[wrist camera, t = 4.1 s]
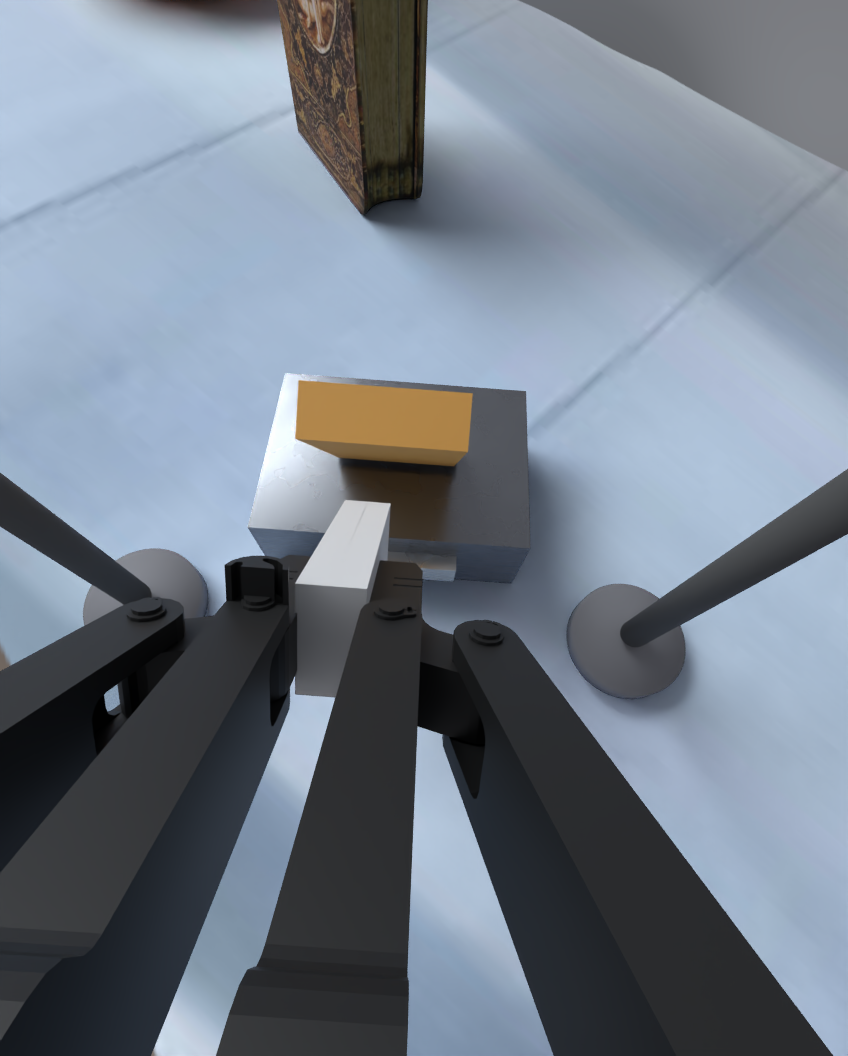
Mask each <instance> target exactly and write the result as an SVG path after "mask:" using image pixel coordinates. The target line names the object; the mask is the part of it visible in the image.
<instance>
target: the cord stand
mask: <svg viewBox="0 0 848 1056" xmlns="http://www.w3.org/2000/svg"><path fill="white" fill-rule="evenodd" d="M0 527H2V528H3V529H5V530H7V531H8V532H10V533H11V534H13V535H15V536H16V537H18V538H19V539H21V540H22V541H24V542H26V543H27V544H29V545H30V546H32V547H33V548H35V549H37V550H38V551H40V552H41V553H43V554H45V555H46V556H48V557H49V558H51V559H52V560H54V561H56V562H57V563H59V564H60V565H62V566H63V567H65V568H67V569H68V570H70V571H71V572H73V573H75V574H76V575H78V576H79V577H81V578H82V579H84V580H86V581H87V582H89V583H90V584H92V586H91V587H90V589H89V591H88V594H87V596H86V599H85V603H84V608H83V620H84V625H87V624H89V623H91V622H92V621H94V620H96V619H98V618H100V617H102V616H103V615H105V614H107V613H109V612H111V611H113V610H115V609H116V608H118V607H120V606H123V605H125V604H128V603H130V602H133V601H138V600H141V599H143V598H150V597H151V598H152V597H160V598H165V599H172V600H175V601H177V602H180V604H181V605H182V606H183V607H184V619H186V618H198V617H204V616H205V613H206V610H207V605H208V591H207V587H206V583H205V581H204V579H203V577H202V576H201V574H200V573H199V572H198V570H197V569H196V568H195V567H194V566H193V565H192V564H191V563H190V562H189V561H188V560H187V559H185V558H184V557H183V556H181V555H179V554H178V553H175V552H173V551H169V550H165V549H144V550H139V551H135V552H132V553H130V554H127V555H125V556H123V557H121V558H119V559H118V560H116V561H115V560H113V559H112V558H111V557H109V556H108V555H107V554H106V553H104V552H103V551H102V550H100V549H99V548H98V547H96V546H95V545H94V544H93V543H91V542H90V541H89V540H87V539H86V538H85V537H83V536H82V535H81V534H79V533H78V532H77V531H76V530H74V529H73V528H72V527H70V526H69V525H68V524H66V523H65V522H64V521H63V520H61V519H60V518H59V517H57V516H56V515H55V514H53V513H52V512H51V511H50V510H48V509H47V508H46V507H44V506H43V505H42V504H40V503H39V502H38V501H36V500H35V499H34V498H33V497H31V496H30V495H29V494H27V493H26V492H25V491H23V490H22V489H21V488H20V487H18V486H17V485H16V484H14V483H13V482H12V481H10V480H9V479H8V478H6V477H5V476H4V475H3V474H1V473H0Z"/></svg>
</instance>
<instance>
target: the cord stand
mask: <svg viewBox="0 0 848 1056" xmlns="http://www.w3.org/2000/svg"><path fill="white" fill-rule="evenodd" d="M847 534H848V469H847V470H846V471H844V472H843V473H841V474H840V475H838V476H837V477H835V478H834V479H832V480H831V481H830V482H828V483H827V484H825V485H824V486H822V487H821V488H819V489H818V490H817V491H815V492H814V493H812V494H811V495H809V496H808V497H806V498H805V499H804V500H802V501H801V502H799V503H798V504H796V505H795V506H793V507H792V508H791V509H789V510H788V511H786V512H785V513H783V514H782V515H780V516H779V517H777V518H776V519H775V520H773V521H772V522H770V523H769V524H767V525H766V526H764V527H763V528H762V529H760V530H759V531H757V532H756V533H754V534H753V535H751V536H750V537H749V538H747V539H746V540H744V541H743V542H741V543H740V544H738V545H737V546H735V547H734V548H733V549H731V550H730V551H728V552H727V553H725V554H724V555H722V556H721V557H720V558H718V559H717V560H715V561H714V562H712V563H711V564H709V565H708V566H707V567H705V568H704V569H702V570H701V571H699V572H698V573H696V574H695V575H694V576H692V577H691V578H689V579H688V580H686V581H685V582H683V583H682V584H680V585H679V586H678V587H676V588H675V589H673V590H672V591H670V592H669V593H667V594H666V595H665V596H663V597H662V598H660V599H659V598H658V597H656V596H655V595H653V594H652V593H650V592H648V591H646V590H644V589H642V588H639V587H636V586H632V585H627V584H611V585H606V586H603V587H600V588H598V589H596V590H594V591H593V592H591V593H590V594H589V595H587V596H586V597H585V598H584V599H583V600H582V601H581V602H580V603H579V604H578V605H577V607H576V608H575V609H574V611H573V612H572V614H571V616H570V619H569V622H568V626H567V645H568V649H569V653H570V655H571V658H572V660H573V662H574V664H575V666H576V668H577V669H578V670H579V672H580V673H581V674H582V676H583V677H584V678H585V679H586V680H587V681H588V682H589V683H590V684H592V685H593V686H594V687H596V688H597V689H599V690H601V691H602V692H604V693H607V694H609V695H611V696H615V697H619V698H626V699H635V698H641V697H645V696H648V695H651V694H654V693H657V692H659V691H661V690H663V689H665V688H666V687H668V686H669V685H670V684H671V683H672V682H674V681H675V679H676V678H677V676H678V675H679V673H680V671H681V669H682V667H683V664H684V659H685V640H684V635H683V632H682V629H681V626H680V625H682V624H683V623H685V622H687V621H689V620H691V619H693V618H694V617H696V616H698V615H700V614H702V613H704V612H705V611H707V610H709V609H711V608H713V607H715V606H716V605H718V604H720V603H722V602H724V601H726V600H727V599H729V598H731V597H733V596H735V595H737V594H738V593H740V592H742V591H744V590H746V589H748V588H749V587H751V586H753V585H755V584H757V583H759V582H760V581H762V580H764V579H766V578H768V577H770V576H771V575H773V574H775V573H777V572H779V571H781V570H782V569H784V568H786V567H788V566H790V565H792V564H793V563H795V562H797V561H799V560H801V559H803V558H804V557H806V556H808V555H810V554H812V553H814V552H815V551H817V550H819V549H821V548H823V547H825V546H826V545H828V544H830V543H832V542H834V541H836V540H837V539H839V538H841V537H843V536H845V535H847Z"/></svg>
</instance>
